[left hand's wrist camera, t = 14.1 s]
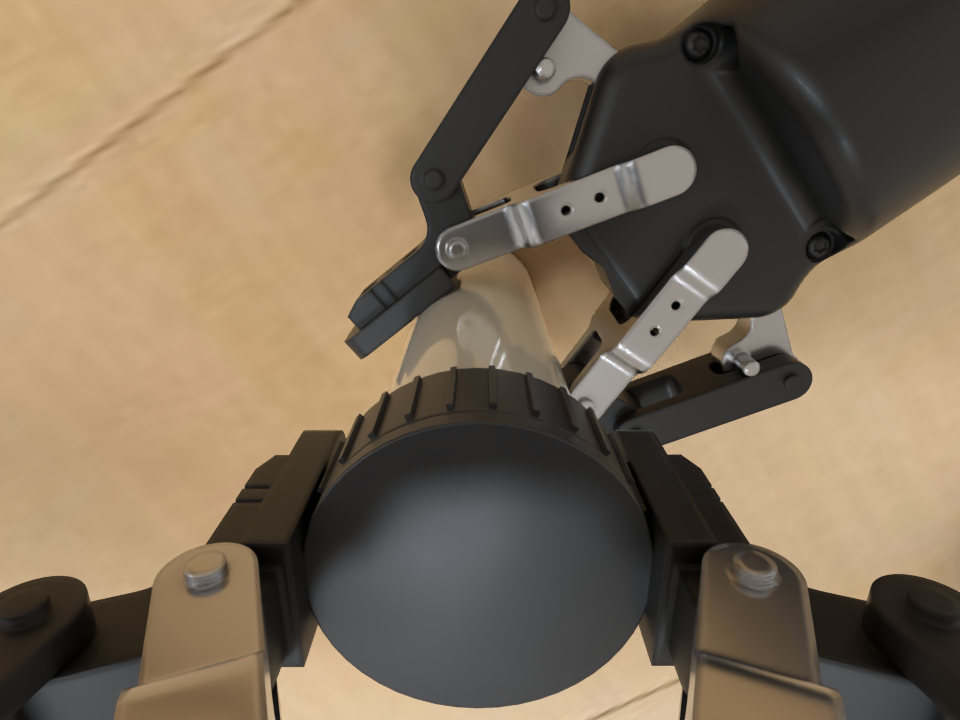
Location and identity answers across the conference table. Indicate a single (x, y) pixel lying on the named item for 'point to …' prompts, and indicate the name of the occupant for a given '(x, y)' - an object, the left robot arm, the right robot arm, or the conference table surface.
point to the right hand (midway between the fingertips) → (413, 400)
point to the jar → (482, 328)
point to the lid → (478, 541)
